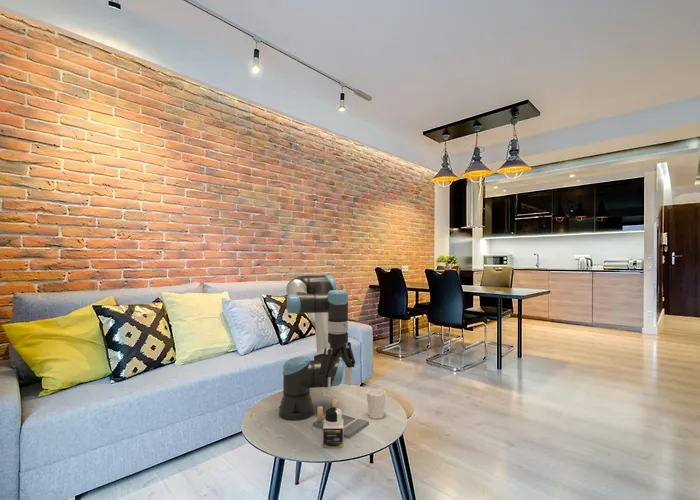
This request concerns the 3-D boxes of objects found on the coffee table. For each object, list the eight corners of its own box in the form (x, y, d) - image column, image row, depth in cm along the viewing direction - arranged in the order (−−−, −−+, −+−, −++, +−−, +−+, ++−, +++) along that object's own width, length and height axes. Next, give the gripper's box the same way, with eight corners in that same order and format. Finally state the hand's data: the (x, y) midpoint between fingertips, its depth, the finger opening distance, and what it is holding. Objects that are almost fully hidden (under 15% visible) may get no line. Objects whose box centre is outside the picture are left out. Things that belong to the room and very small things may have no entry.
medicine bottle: (323, 447, 125) (323, 413, 125) (324, 437, 132) (324, 405, 133) (343, 447, 125) (343, 413, 125) (343, 437, 132) (343, 405, 133)
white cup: (384, 420, 147) (384, 396, 147) (365, 418, 148) (365, 394, 148) (386, 412, 154) (386, 389, 155) (368, 411, 156) (368, 388, 156)
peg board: (312, 425, 142) (312, 407, 142) (334, 413, 153) (334, 396, 153) (348, 438, 131) (348, 419, 132) (368, 424, 143) (368, 406, 143)
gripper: (325, 339, 118) (325, 403, 117) (364, 327, 139) (364, 381, 138) (308, 337, 122) (308, 398, 121) (348, 325, 143) (348, 378, 142)
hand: (337, 389), depth 130 cm, fingers open, 13 cm apart
